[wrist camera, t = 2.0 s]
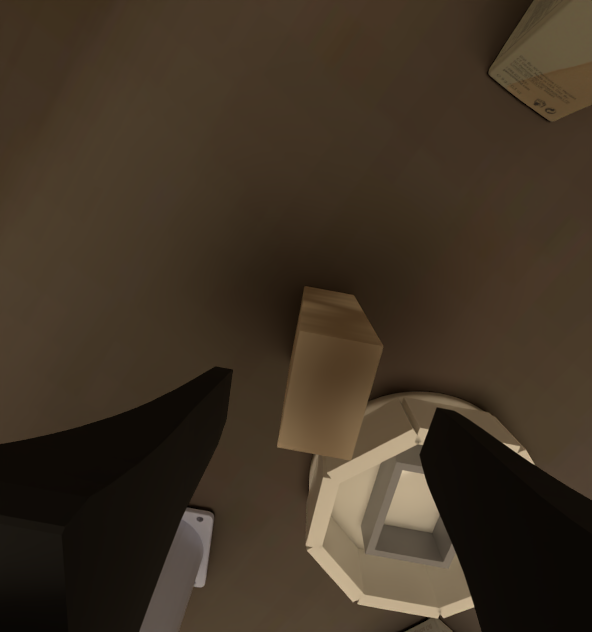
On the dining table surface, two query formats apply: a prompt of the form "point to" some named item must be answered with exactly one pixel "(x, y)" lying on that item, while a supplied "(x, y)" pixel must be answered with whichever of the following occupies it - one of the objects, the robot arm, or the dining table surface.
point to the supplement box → (431, 626)
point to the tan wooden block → (328, 375)
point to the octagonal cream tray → (391, 510)
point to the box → (549, 58)
